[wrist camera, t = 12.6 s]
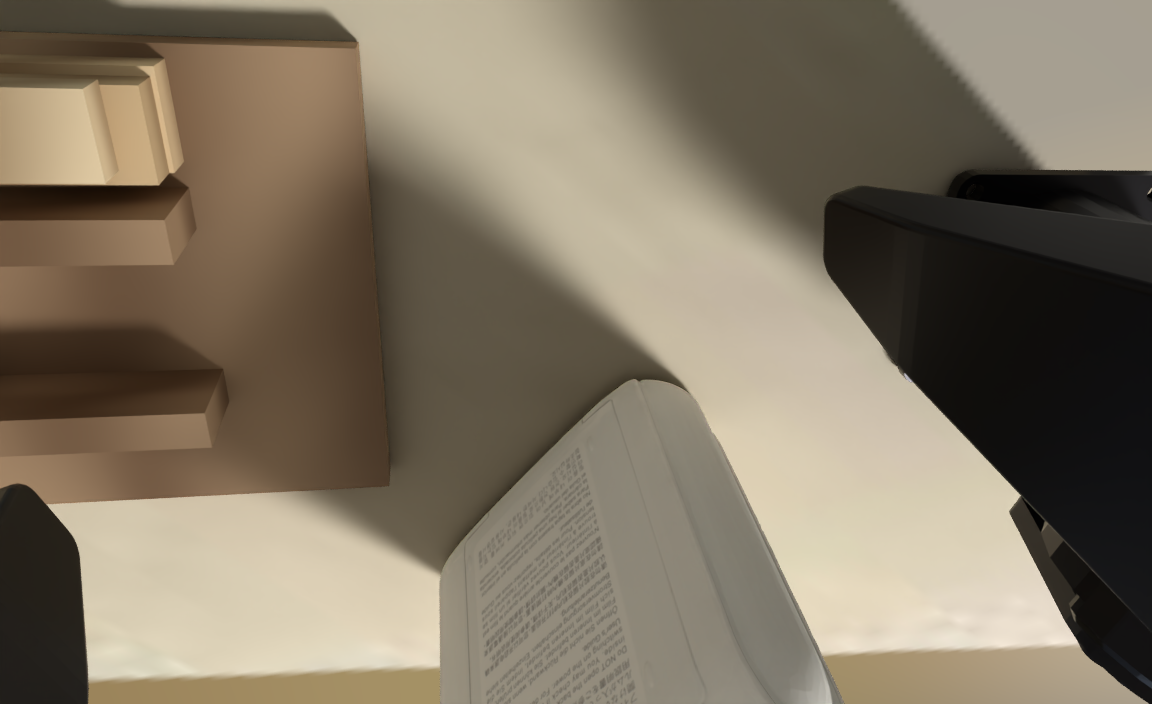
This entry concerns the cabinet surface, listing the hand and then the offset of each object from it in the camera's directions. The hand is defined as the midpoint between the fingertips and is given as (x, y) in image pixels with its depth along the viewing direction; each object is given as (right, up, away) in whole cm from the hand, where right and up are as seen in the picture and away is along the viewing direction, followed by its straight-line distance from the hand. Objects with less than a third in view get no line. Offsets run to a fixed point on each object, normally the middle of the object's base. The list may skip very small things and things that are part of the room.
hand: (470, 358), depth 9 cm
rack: (-9, +2, +11) cm, 15 cm away
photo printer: (+1, -4, +17) cm, 18 cm away
